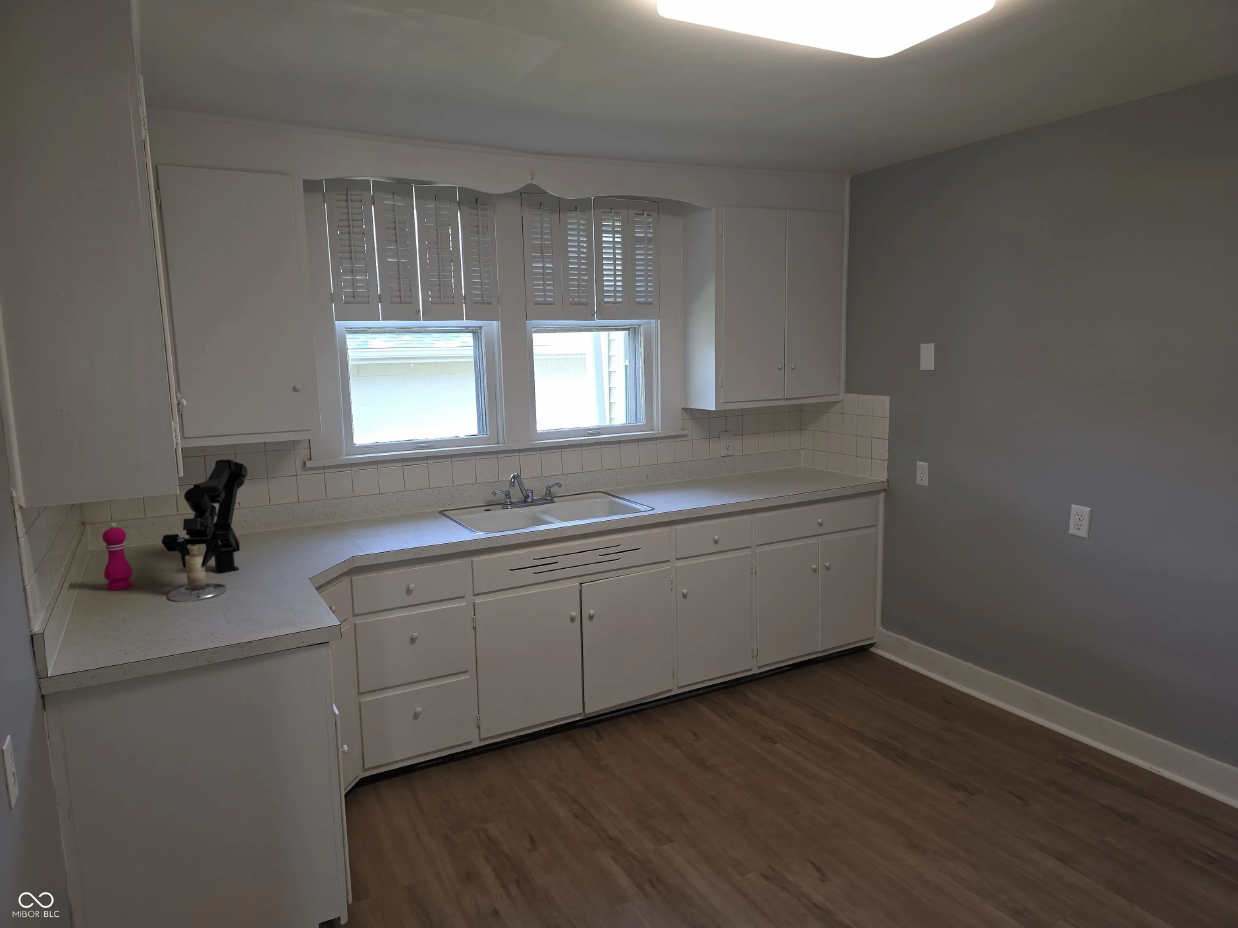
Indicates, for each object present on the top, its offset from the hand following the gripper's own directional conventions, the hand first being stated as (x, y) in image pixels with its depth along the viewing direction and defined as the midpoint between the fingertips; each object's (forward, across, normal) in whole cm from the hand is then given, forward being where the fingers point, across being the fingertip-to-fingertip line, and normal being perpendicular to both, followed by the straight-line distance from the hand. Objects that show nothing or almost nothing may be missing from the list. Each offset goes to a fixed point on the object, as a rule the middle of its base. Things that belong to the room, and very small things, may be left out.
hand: (193, 566), depth 228 cm
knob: (+4, 0, +6) cm, 7 cm away
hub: (+5, 0, +7) cm, 9 cm away
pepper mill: (-3, -26, +15) cm, 30 cm away
